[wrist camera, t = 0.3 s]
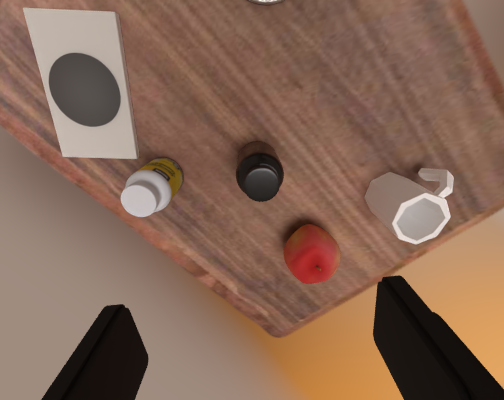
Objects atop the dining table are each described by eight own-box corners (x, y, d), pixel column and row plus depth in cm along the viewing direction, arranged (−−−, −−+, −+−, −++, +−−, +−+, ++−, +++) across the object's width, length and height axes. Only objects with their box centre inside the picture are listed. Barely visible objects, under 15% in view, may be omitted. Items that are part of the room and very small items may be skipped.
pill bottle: (191, 171, 44) (172, 197, 33) (172, 198, 46) (149, 231, 35) (157, 148, 42) (127, 168, 31) (140, 178, 44) (105, 206, 34)
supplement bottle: (235, 176, 44) (230, 204, 33) (240, 137, 42) (237, 154, 31) (273, 182, 45) (281, 212, 34) (281, 144, 42) (293, 163, 31)
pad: (41, 51, 35) (39, 51, 35) (114, 54, 36) (112, 54, 35) (61, 125, 39) (59, 125, 39) (125, 127, 40) (124, 127, 39)
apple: (290, 263, 52) (299, 300, 43) (273, 226, 48) (279, 258, 39) (335, 247, 50) (355, 282, 41) (321, 207, 47) (339, 236, 38)
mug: (384, 222, 48) (415, 252, 39) (354, 196, 46) (379, 222, 37) (437, 176, 45) (485, 197, 36) (408, 145, 42) (450, 160, 33)
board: (29, 10, 34) (22, 7, 33) (118, 14, 35) (114, 11, 34) (67, 155, 42) (63, 156, 41) (139, 157, 43) (136, 158, 42)
